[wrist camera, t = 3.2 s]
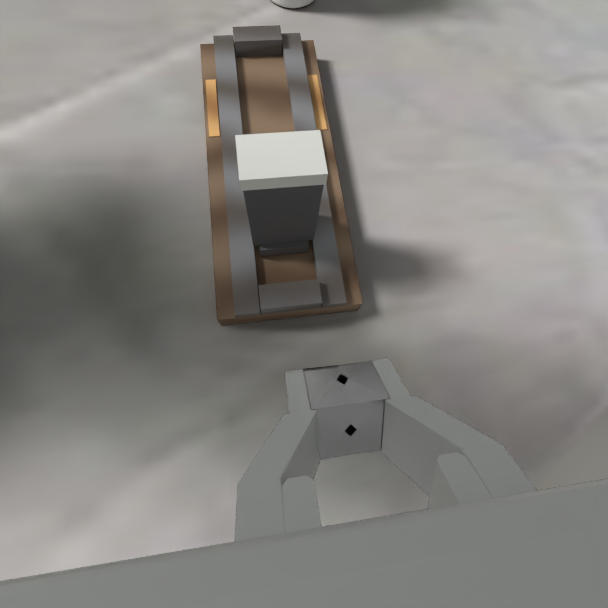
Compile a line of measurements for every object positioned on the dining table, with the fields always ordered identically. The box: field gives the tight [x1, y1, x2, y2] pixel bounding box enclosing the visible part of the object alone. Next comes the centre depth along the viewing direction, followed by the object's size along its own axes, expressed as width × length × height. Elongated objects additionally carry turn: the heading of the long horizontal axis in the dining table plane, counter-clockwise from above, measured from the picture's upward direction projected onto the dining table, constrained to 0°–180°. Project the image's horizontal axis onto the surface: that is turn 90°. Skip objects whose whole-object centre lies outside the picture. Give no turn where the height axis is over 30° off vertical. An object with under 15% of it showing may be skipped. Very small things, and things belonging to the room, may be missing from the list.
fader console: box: [200, 25, 363, 326], centre depth 32 cm, size 30×12×4 cm, turn 7°
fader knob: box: [235, 130, 328, 257], centre depth 25 cm, size 4×5×10 cm
